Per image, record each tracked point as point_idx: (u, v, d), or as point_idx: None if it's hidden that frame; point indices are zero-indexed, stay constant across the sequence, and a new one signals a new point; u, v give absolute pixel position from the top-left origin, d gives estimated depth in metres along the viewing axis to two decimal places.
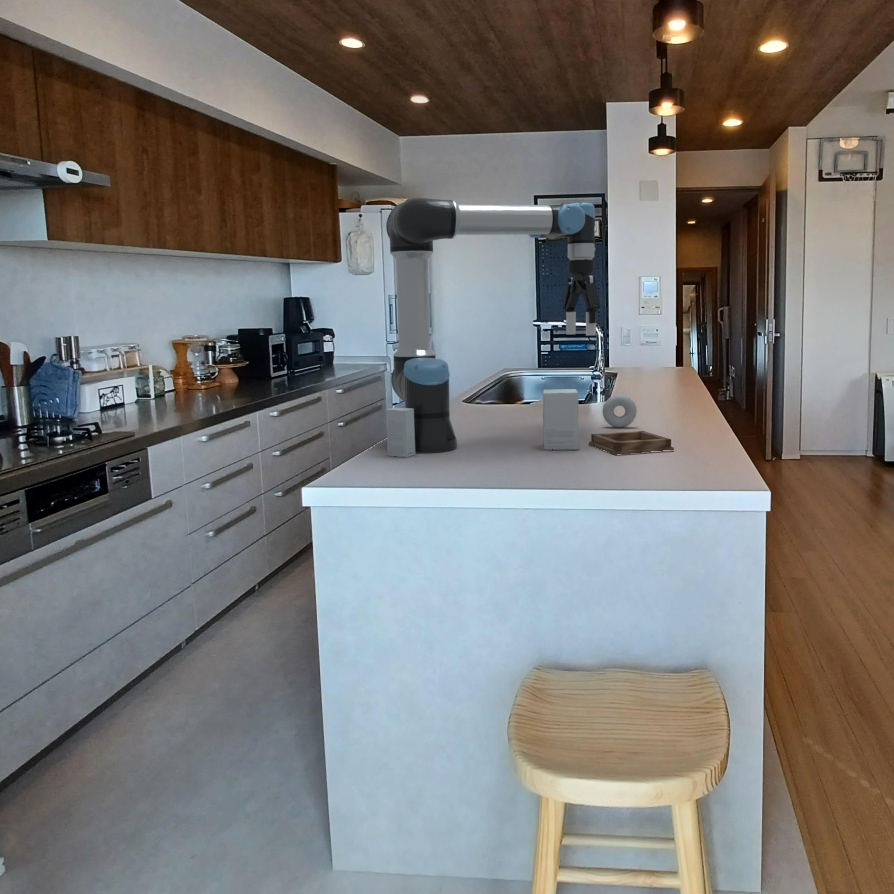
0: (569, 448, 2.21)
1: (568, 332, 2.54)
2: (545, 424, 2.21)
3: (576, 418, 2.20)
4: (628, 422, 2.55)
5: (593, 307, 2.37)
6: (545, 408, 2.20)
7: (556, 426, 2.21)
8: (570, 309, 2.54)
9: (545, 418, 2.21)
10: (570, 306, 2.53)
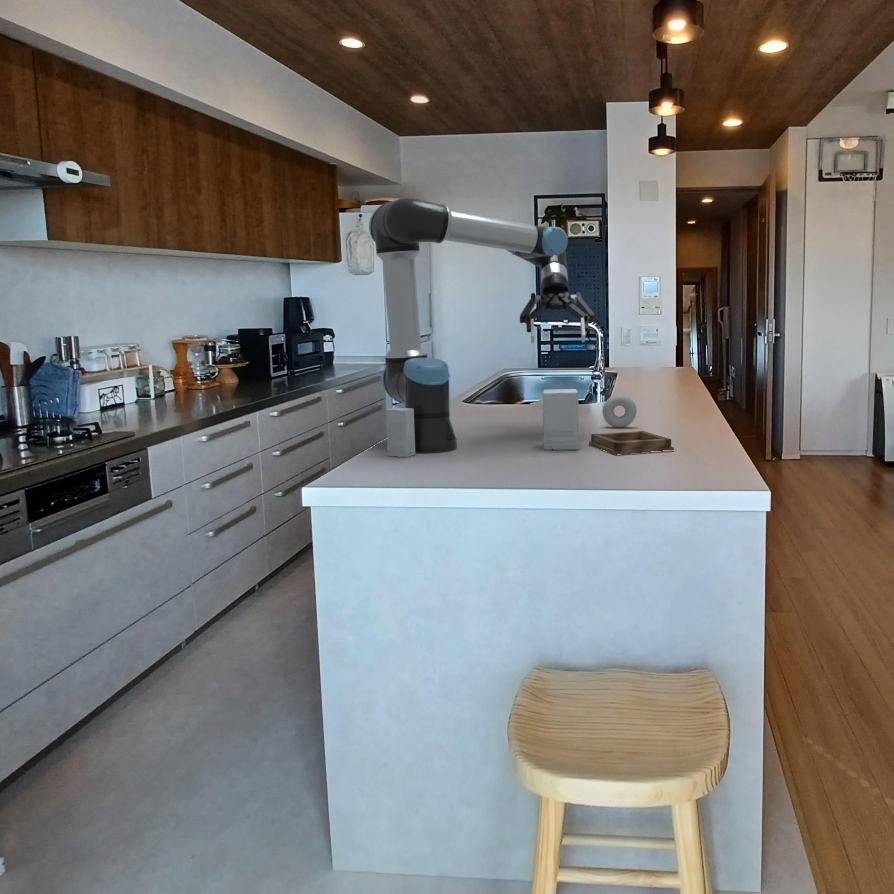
0: (569, 448, 2.21)
1: None
2: (545, 424, 2.21)
3: (576, 418, 2.20)
4: (628, 422, 2.55)
5: None
6: (545, 408, 2.20)
7: (556, 426, 2.21)
8: None
9: (545, 418, 2.21)
10: (534, 316, 2.37)
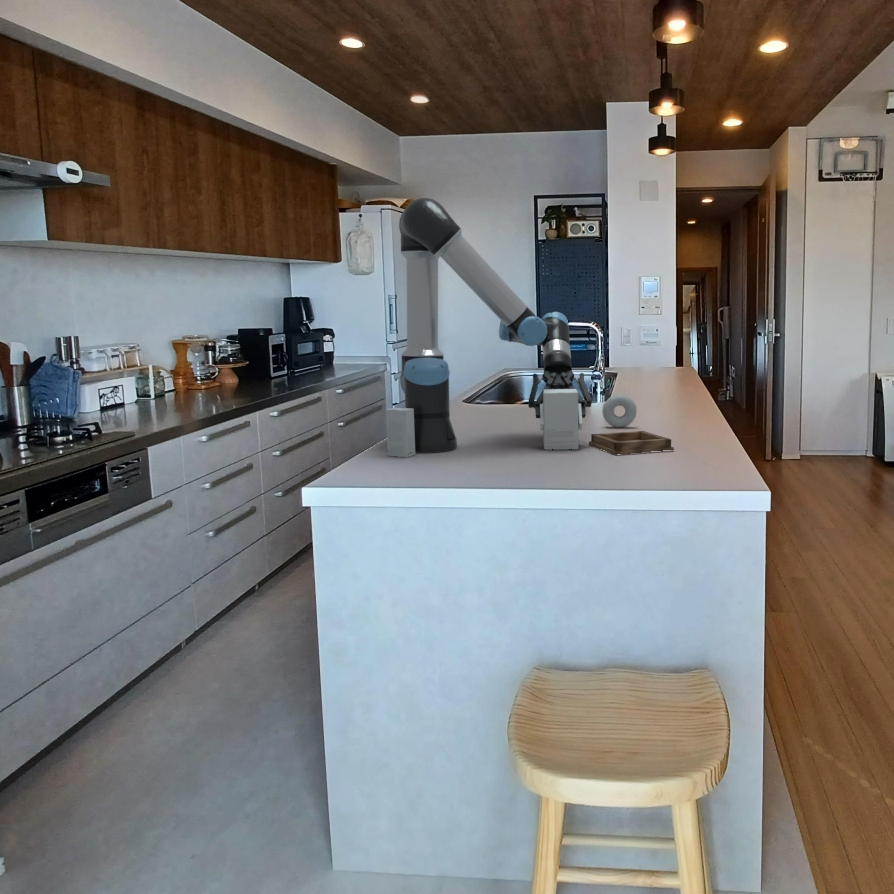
0: (569, 448, 2.21)
1: (543, 423, 2.22)
2: (545, 424, 2.21)
3: (576, 418, 2.20)
4: (628, 422, 2.55)
5: (591, 400, 2.25)
6: (545, 408, 2.20)
7: (556, 426, 2.21)
8: None
9: (545, 418, 2.21)
10: (542, 400, 2.27)
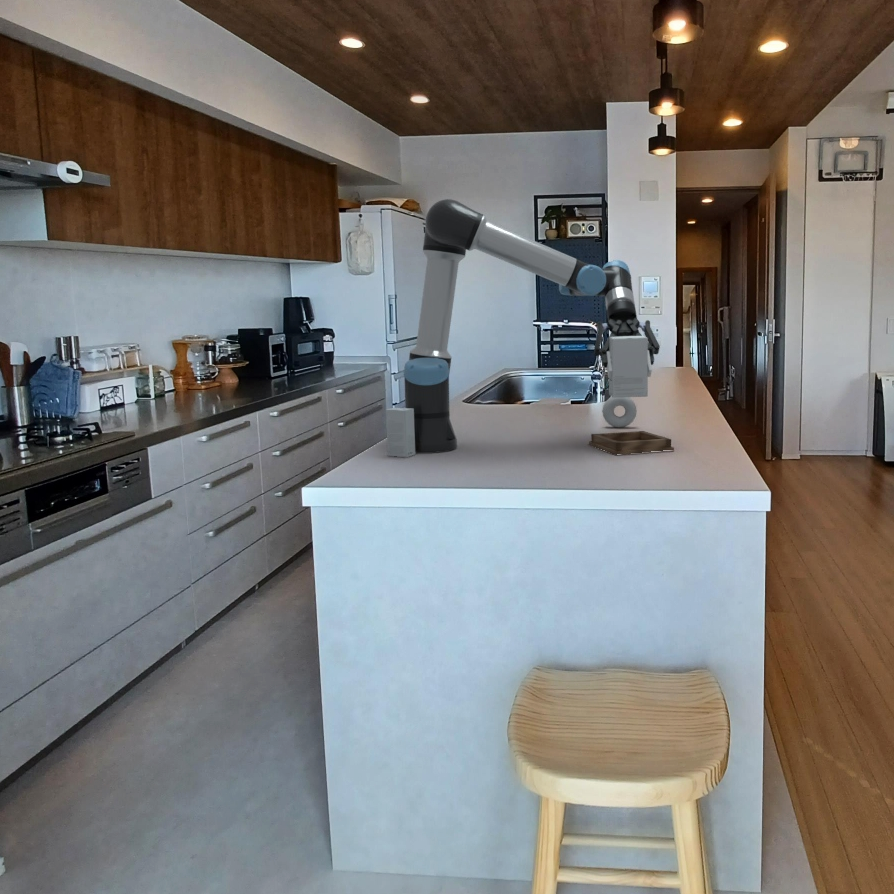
0: (638, 395, 2.16)
1: (611, 370, 2.16)
2: (613, 371, 2.16)
3: (645, 364, 2.15)
4: (628, 422, 2.55)
5: (659, 347, 2.20)
6: (613, 354, 2.15)
7: (624, 372, 2.15)
8: None
9: (613, 364, 2.15)
10: (608, 347, 2.21)
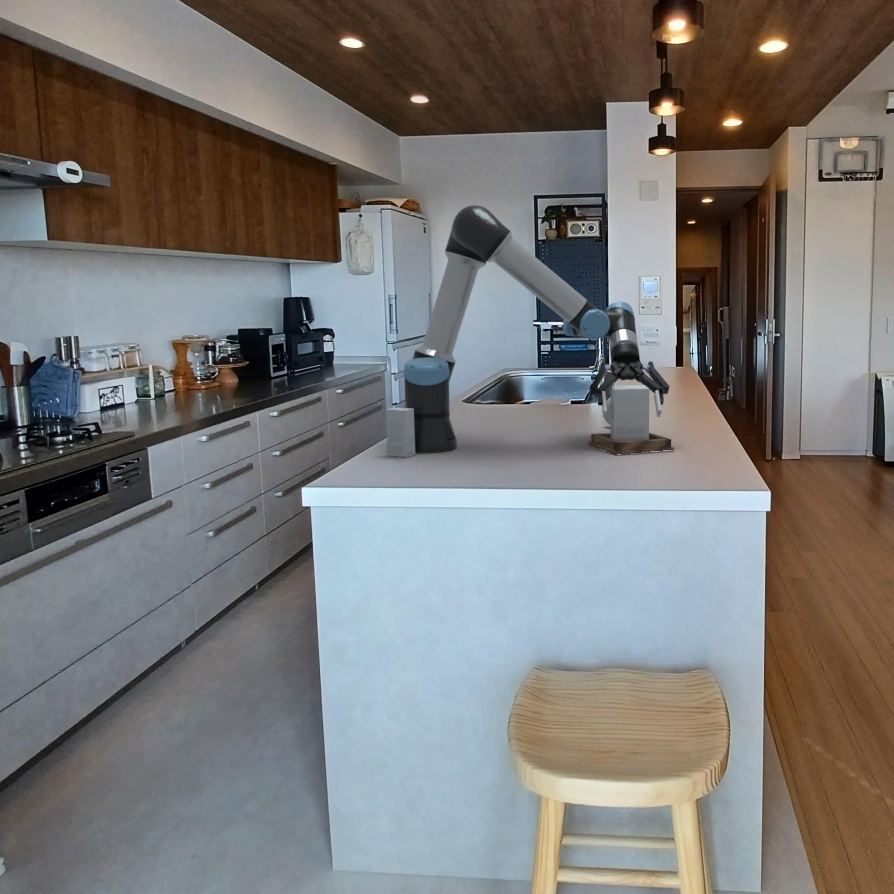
0: None
1: (606, 410, 2.19)
2: (615, 421, 2.17)
3: (647, 414, 2.16)
4: None
5: None
6: (615, 404, 2.17)
7: (626, 422, 2.17)
8: None
9: (615, 414, 2.17)
10: (605, 388, 2.23)
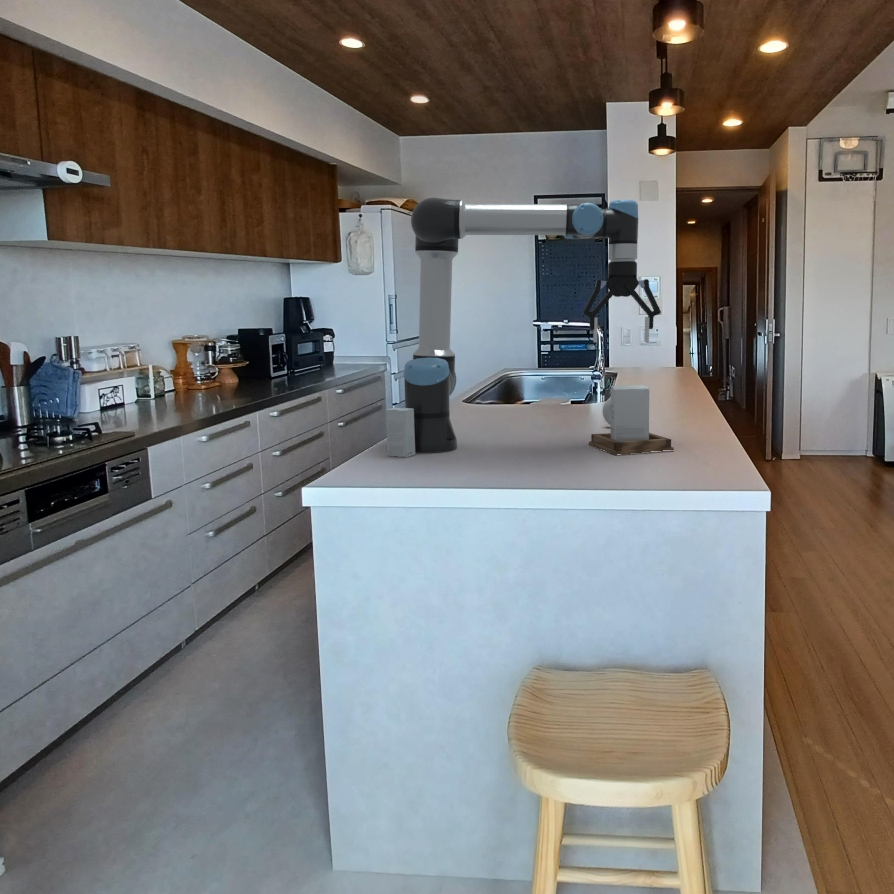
0: None
1: None
2: (615, 421, 2.17)
3: (647, 414, 2.16)
4: None
5: None
6: (615, 404, 2.17)
7: (626, 422, 2.17)
8: None
9: (615, 414, 2.17)
10: (598, 311, 2.30)
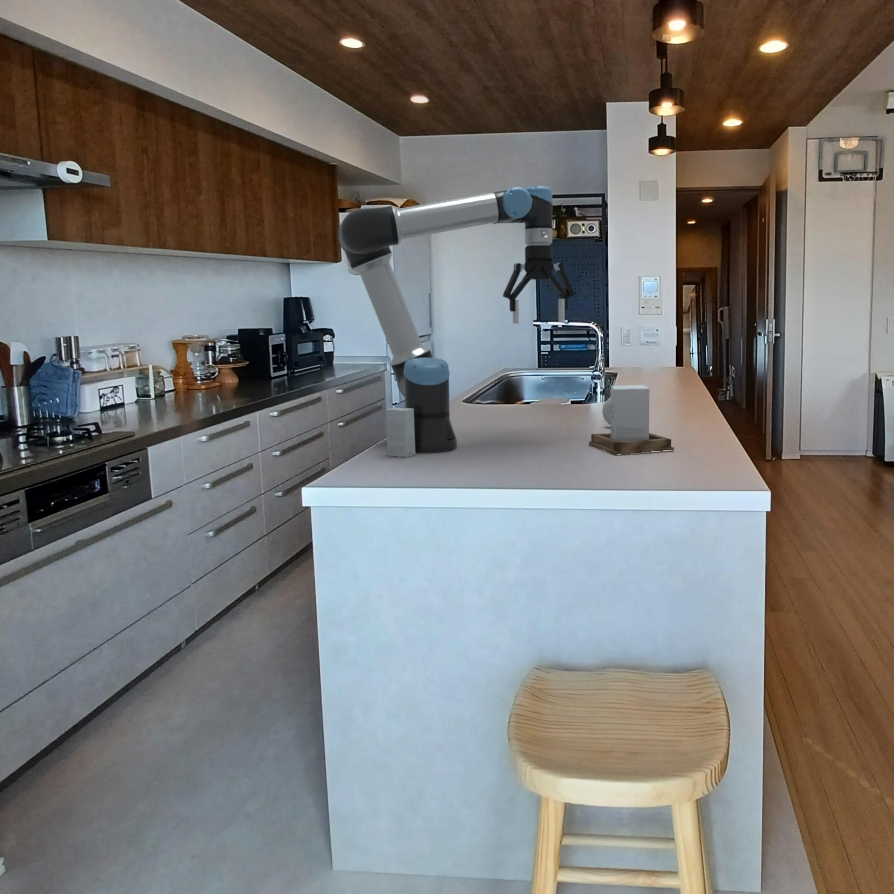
0: None
1: (558, 320, 2.44)
2: (615, 421, 2.17)
3: (647, 414, 2.16)
4: None
5: (503, 295, 2.38)
6: (615, 404, 2.17)
7: (626, 422, 2.17)
8: (562, 296, 2.42)
9: (615, 414, 2.17)
10: (558, 293, 2.42)
